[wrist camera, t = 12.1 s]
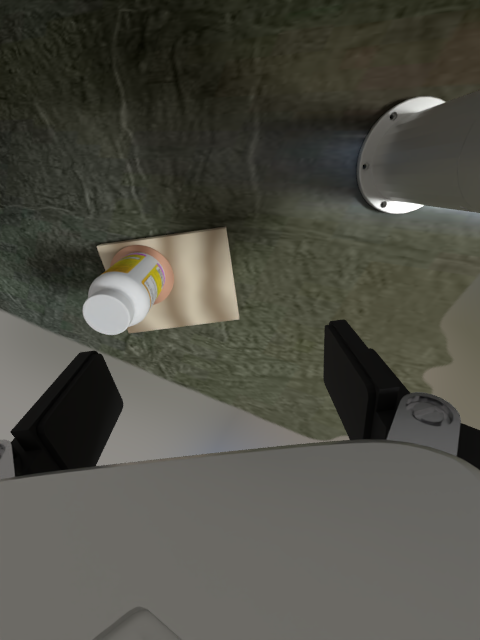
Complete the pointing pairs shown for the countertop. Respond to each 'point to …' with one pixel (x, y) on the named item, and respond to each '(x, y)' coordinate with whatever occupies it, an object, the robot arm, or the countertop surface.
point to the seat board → (184, 277)
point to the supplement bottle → (124, 293)
